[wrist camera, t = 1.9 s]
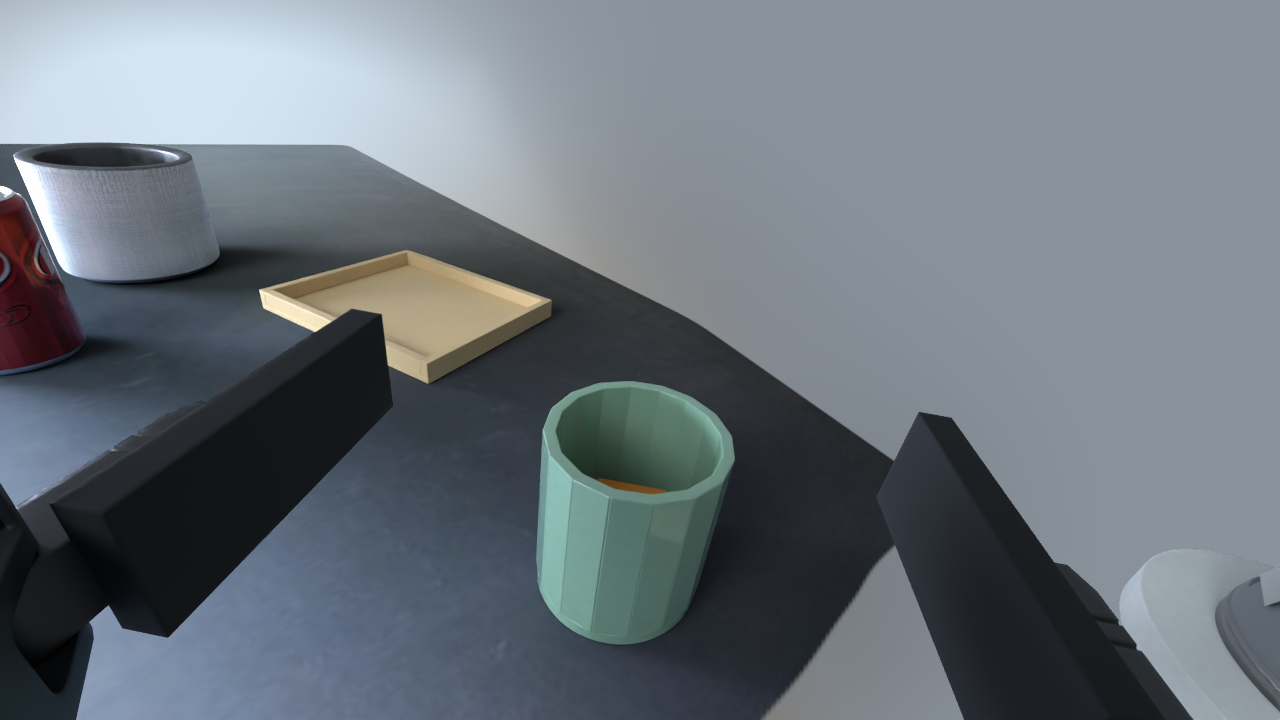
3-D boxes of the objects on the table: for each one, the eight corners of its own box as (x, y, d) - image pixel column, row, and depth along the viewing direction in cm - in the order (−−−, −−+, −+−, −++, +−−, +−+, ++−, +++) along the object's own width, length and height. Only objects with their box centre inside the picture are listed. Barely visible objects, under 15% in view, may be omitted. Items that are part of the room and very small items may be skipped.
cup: (716, 549, 32) (756, 421, 27) (654, 680, 25) (692, 537, 20) (591, 488, 35) (606, 363, 30) (502, 590, 28) (502, 446, 23)
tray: (551, 316, 57) (552, 299, 56) (428, 384, 43) (426, 363, 42) (408, 264, 64) (407, 249, 63) (263, 308, 50) (258, 289, 49)
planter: (249, 254, 60) (224, 154, 55) (155, 295, 50) (112, 175, 44) (142, 239, 60) (106, 137, 55) (24, 276, 49) (-35, 153, 44)
